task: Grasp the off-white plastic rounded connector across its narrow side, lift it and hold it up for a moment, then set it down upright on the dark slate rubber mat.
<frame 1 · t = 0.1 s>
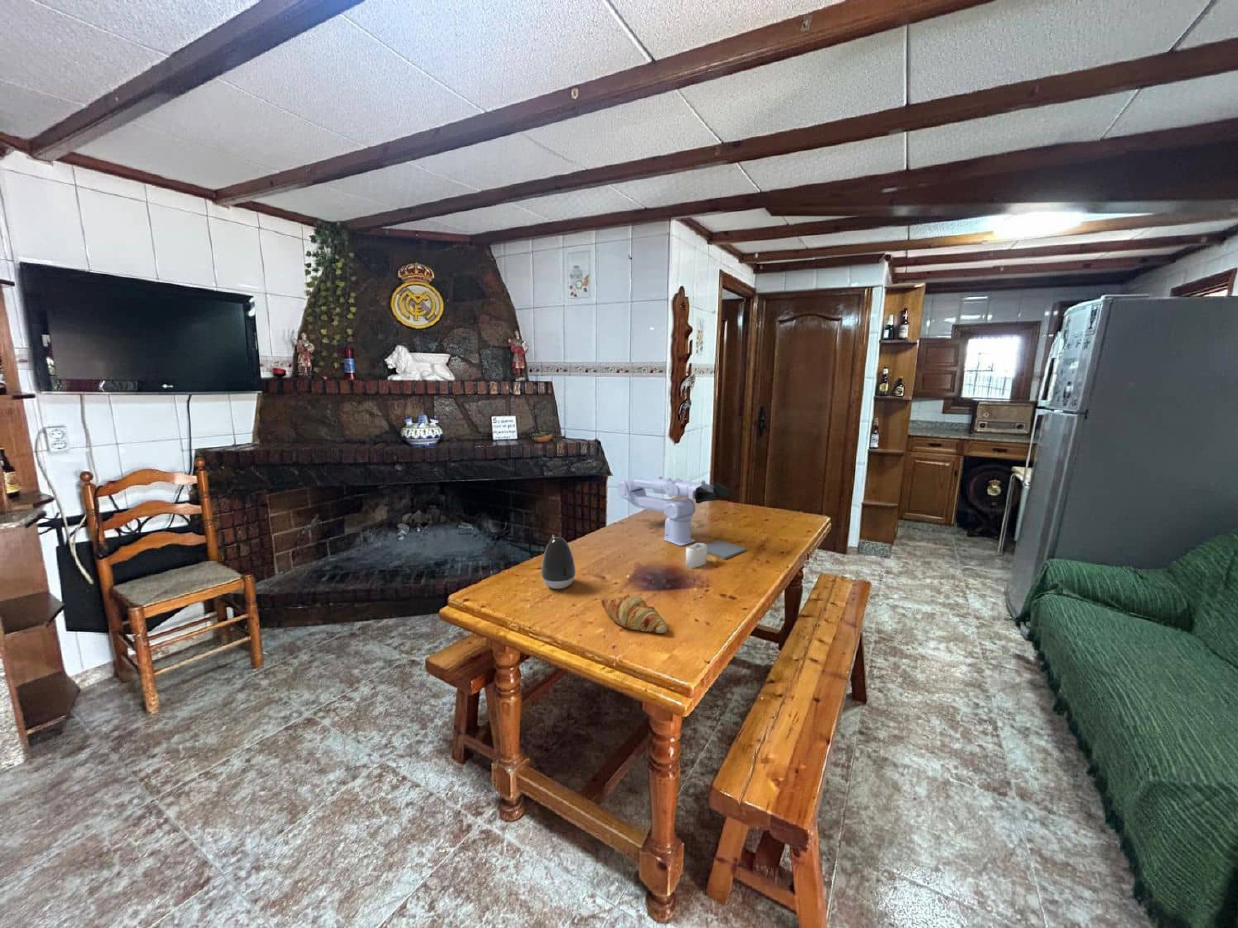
hand: (723, 495, 168), 22 cm above the table, tool horizontal, fingers open, 7 cm apart
rounded connector: (696, 563, 166), on the table
croissant: (632, 623, 130), on the table
slate mat: (721, 550, 178), on the table
dark grey egg shape: (559, 585, 151), on the table
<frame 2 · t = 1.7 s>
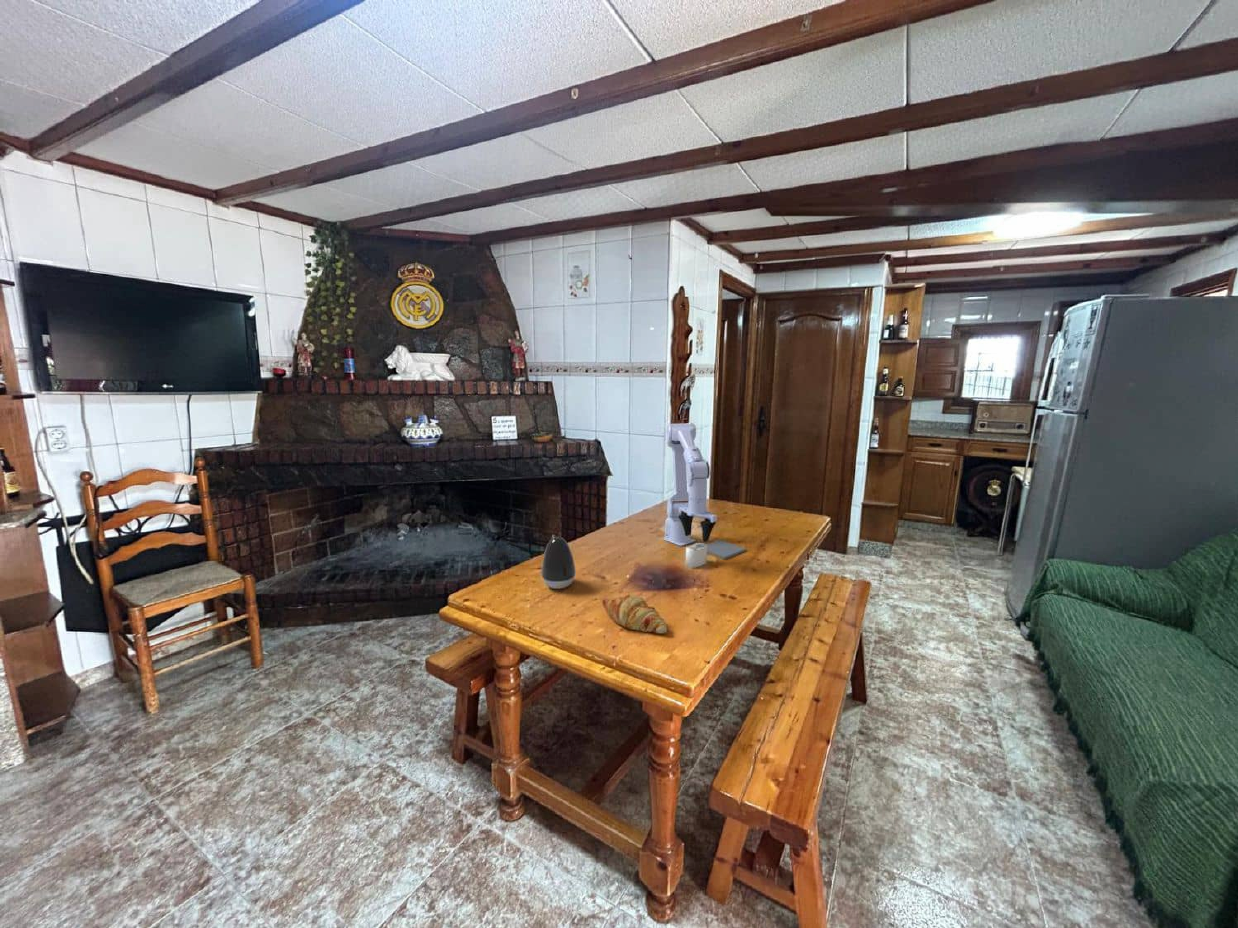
hand: (696, 538, 164), 9 cm above the table, tool pointing down, fingers open, 7 cm apart
nothing on the table moved.
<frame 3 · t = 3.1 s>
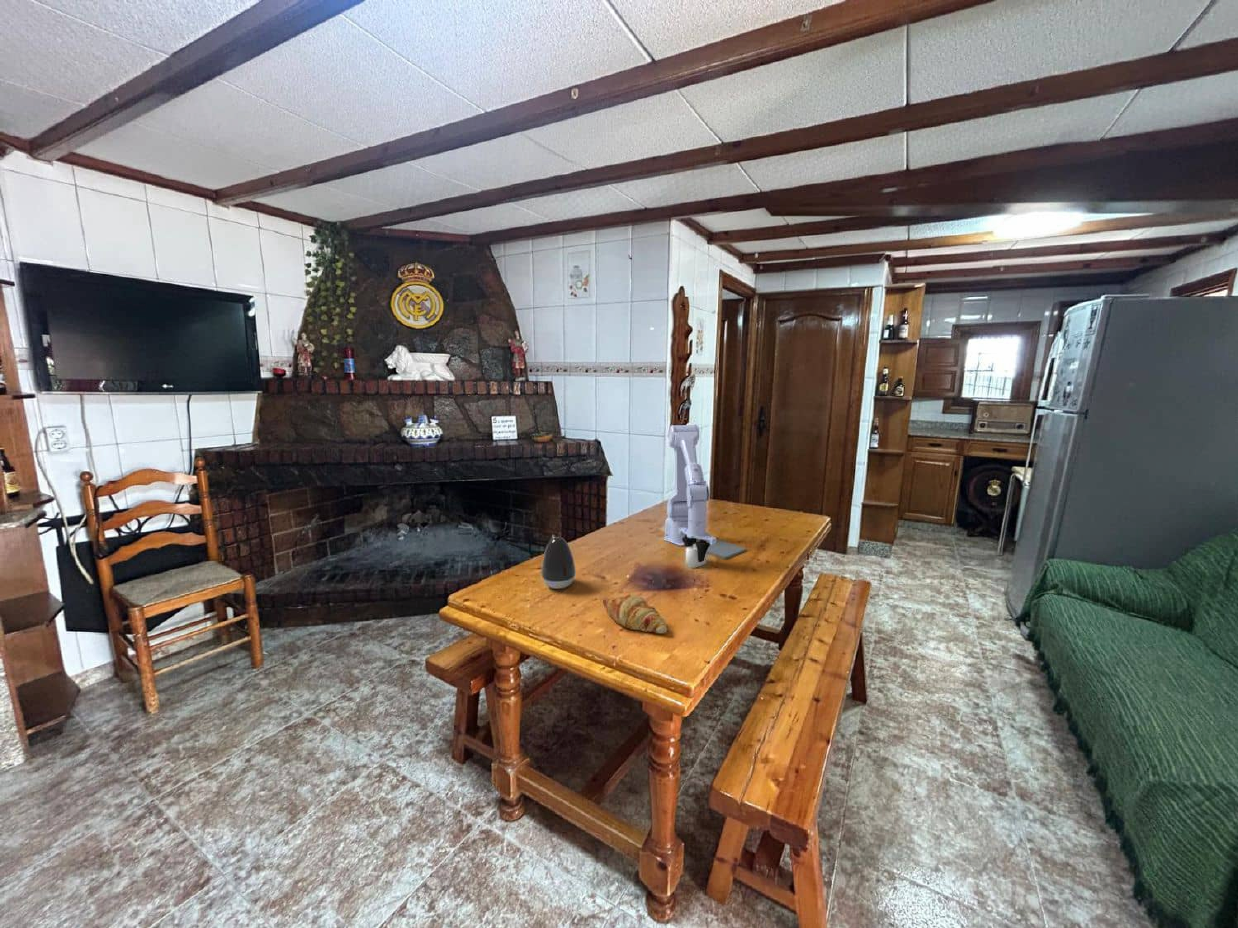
hand: (696, 559, 166), 2 cm above the table, tool pointing down, fingers closed on rounded connector, 4 cm apart
rounded connector: (696, 563, 166), on the table, touching gripper
everything else where it was.
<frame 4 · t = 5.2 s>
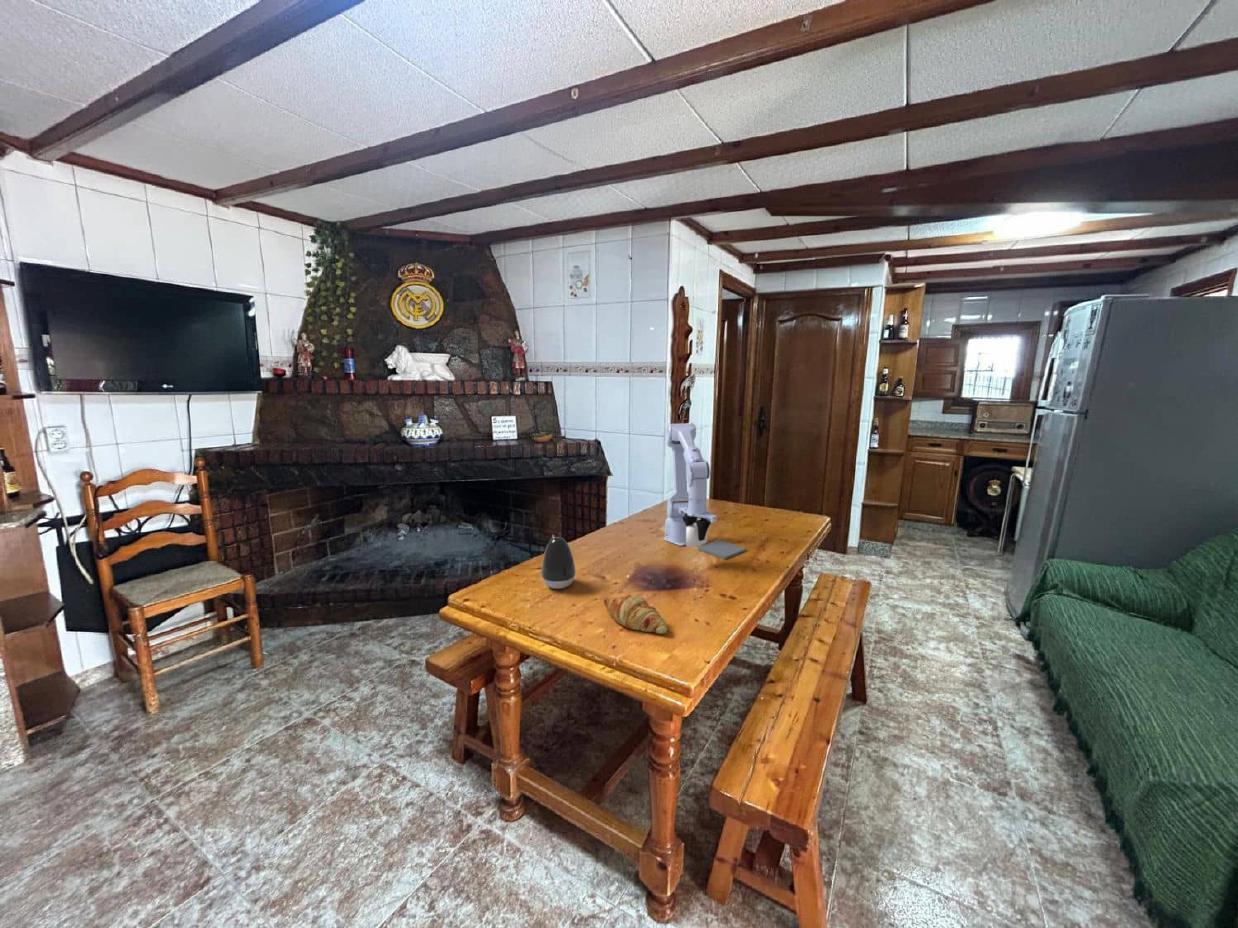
hand: (696, 538, 164), 9 cm above the table, tool pointing down, fingers closed on rounded connector, 4 cm apart
rounded connector: (696, 543, 164), point 7 cm above the table, touching gripper
everything else where it was.
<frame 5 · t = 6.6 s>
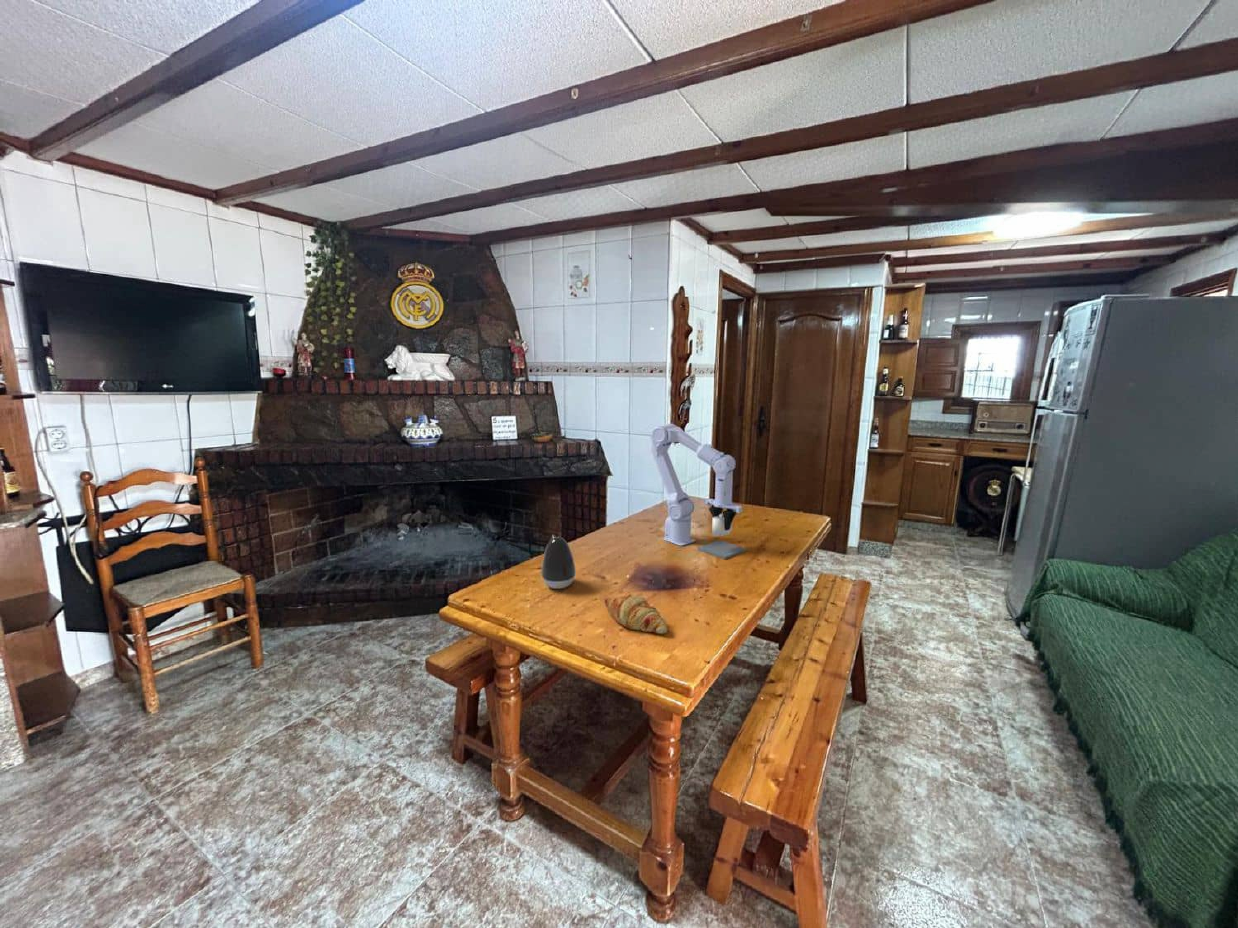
hand: (722, 528, 176), 8 cm above the table, tool pointing down, fingers closed on rounded connector, 4 cm apart
rounded connector: (721, 533, 176), point 6 cm above the table, touching gripper
everything else where it was.
when the fingers open (4 cm above the table, at t = 7.7 s): rounded connector drops 1 cm, resting on slate mat.
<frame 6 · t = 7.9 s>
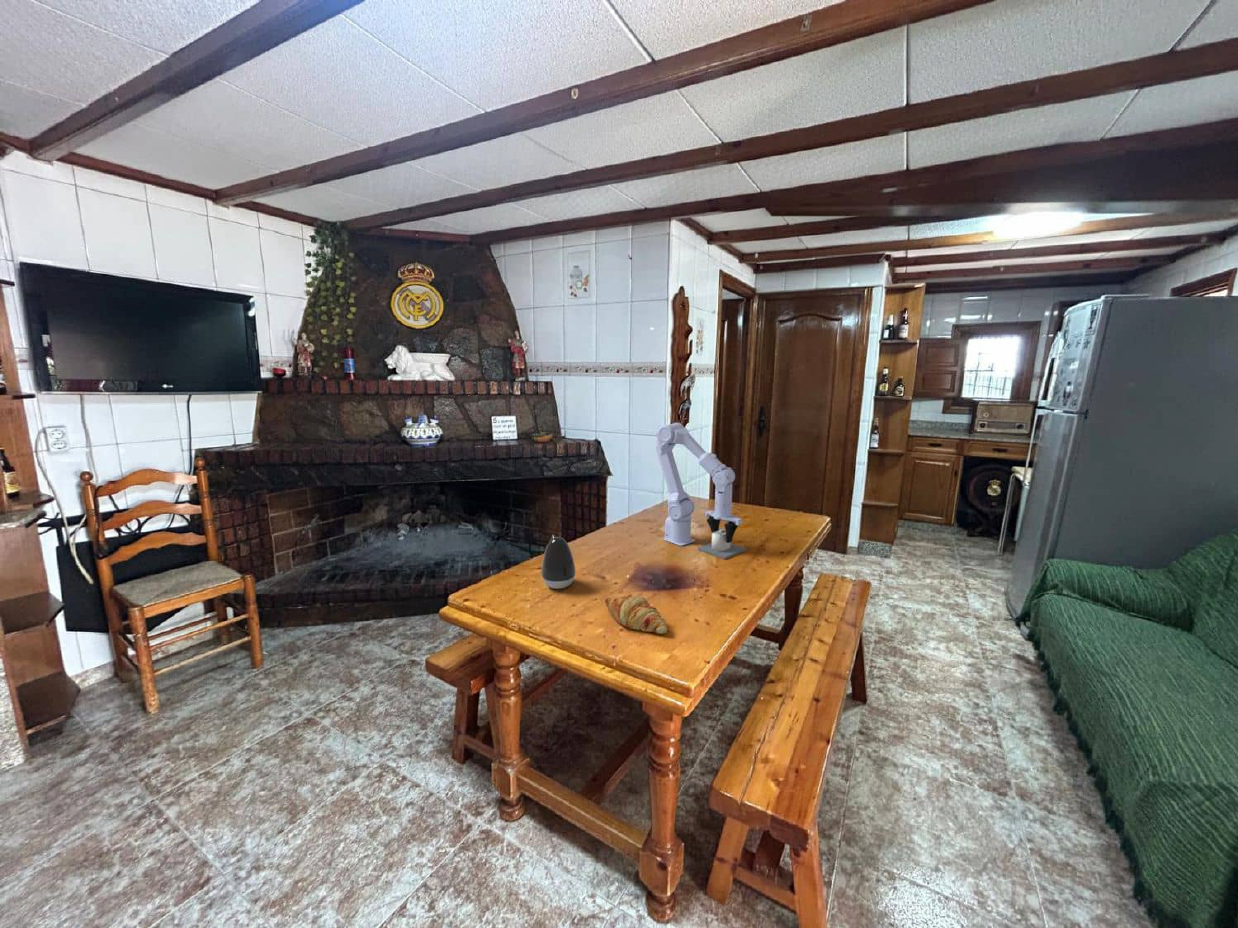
hand: (722, 539, 177), 4 cm above the table, tool pointing down, fingers open, 5 cm apart
rounded connector: (721, 548, 177), point 1 cm above the table, touching slate mat
everything else where it was.
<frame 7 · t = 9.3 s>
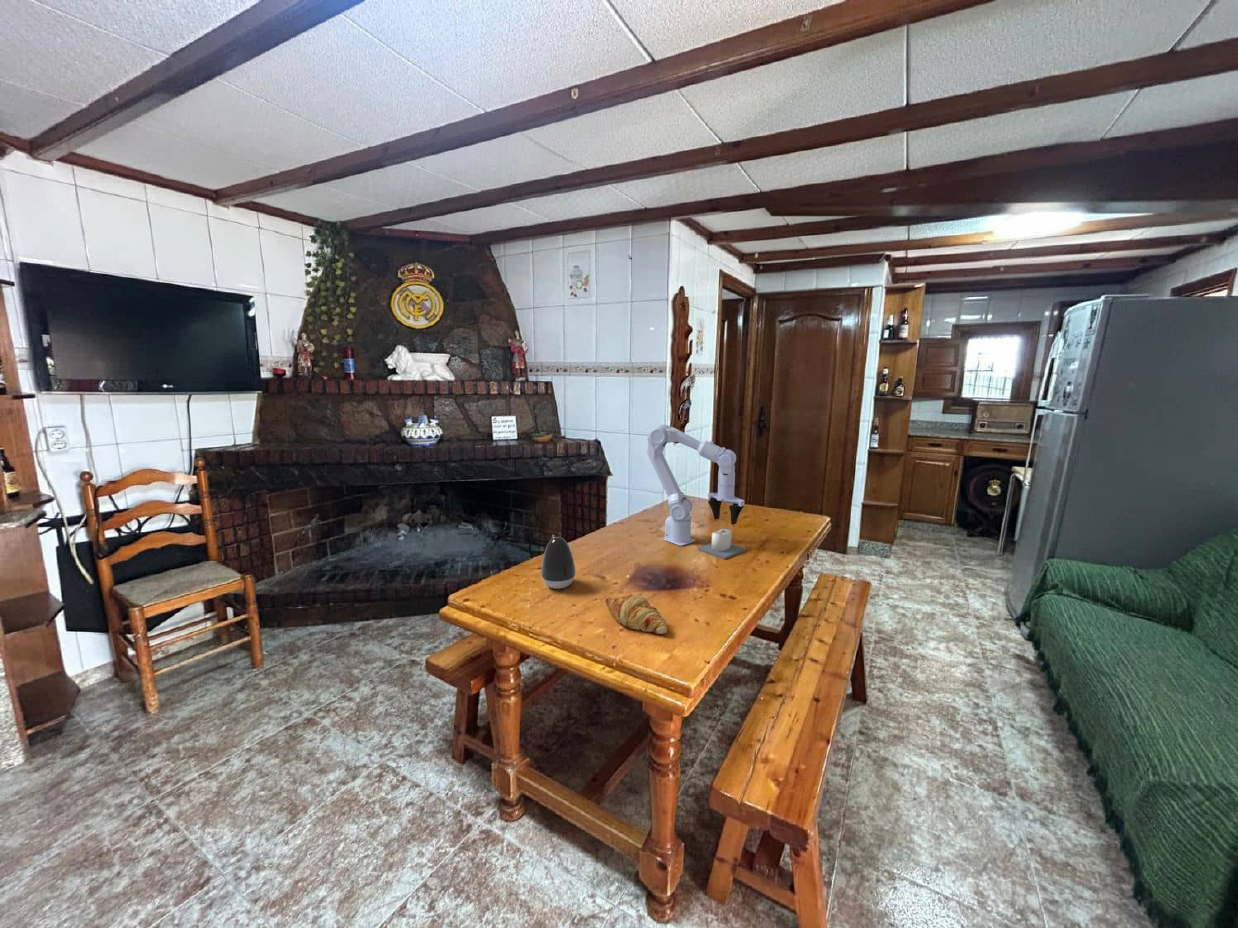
hand: (725, 521, 179), 9 cm above the table, tool pointing down, fingers open, 7 cm apart
nothing on the table moved.
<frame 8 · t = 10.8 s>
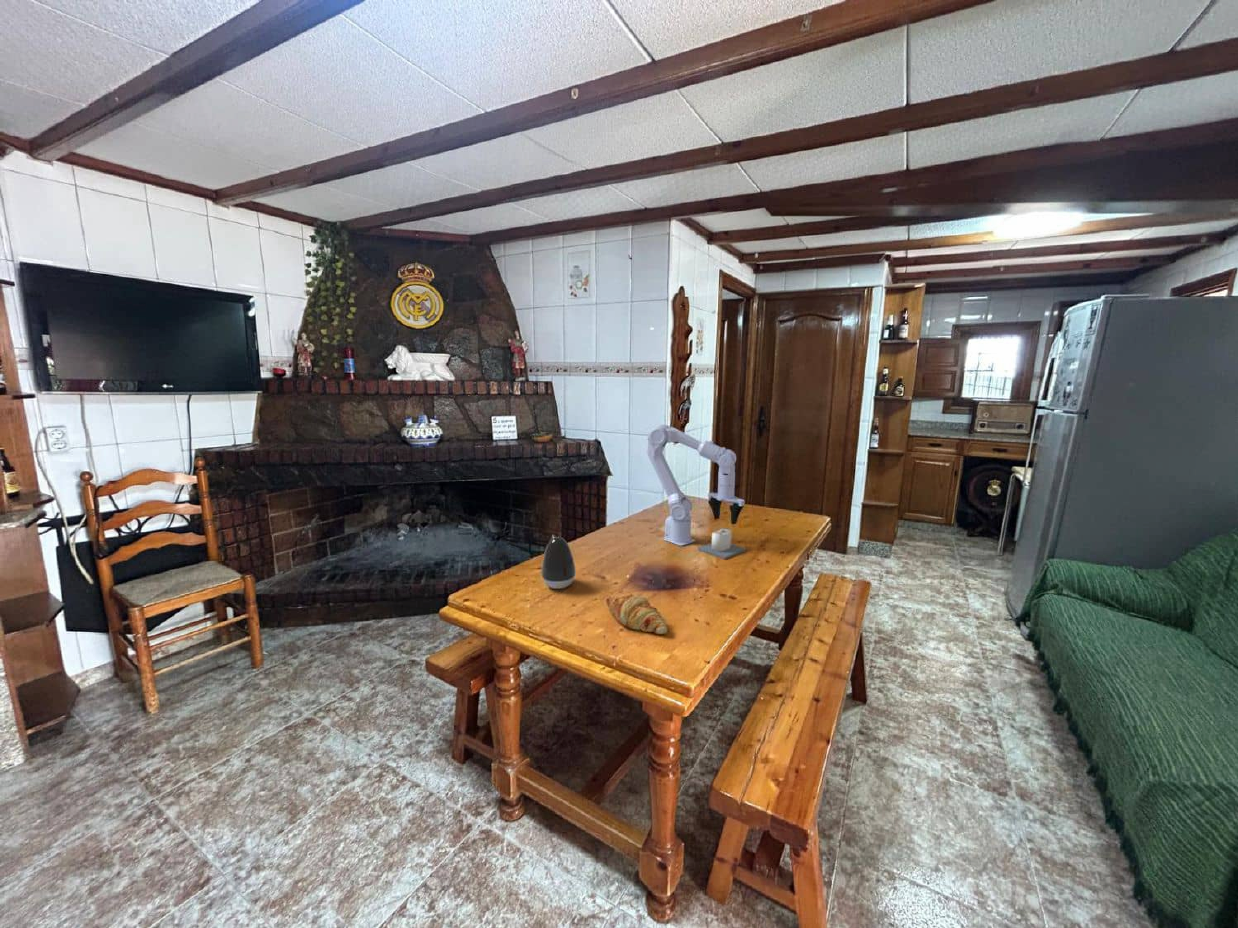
hand: (725, 521, 180), 9 cm above the table, tool pointing down, fingers open, 7 cm apart
nothing on the table moved.
at the end: rounded connector inside the target area on the slate mat (0.3 cm from its centre), point 0.8 cm above the slate mat's base; rounded connector tilted 0°; the gripper is holding nothing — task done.
